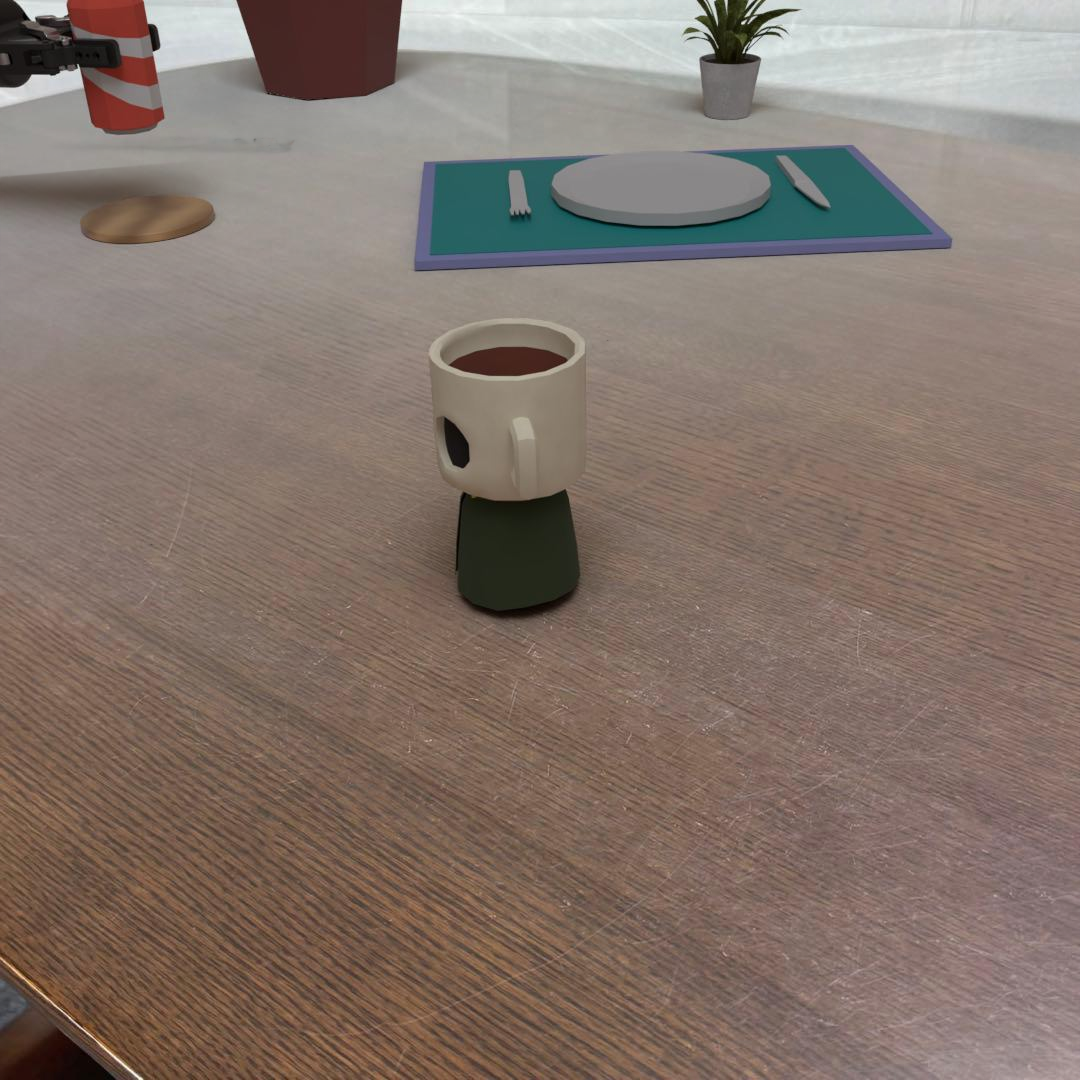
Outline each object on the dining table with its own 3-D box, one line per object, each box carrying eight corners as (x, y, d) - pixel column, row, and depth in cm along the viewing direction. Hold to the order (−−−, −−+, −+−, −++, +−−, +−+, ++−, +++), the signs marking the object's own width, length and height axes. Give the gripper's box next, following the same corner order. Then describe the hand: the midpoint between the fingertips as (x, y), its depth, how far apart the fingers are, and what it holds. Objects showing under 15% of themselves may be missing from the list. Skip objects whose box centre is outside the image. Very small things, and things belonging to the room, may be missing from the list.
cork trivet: (76, 249, 106) (74, 240, 106) (87, 209, 116) (86, 201, 116) (214, 236, 108) (213, 227, 108) (214, 198, 118) (213, 190, 118)
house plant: (697, 137, 133) (705, -24, 124) (638, 111, 144) (641, -39, 135) (805, 121, 138) (820, -35, 129) (740, 97, 148) (750, -49, 140)
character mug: (438, 535, 65) (418, 308, 58) (567, 522, 66) (564, 296, 59) (458, 659, 56) (438, 407, 49) (609, 641, 57) (610, 391, 50)
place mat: (415, 270, 100) (413, 243, 98) (424, 169, 125) (422, 146, 124) (951, 247, 101) (955, 220, 100) (851, 152, 127) (854, 129, 125)
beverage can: (162, 135, 106) (135, -14, 99) (87, 138, 105) (55, -11, 98) (169, 118, 111) (144, -25, 104) (98, 122, 110) (68, -22, 103)
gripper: (22, 68, 114) (184, 73, 111) (-73, 104, 103) (105, 111, 100) (1, -18, 110) (169, -15, 107) (-100, 9, 99) (85, 13, 95)
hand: (137, 45), depth 103 cm, fingers closed on beverage can, 6 cm apart
